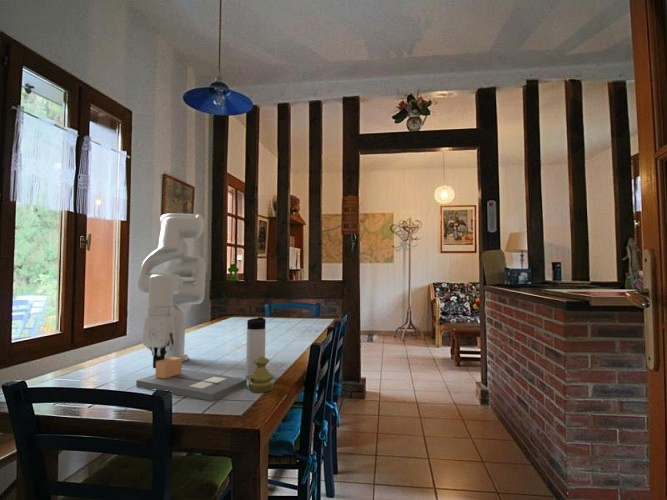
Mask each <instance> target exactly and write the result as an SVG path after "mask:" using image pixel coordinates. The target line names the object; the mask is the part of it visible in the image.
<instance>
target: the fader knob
mask: <svg viewBox="0 0 667 500" xmlns="http://www.w3.org/2000/svg"><path fill="white" fill-rule="evenodd" d="M182 369H183V361H182V358H178V357H170V358H166V359H163V360H159V361H156V368H155V374H156V375H155V374H154V375H155V377H158V378H163V379H165V378H168V377H172V376H175V375H178V374H181V373H182Z"/></svg>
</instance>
